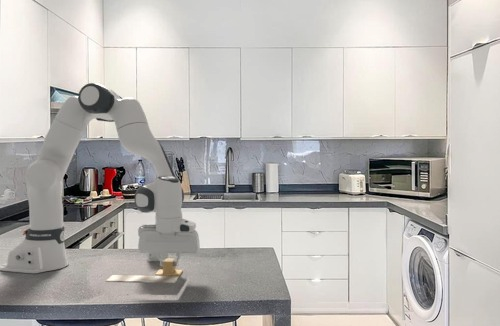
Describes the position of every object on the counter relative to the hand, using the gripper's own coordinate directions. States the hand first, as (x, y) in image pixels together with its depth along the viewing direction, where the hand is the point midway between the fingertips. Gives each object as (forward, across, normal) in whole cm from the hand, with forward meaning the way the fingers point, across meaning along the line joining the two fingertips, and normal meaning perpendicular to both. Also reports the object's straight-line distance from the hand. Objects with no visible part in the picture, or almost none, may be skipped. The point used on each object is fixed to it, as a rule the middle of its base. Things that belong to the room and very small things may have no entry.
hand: (169, 265), depth 155 cm
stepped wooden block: (+3, 0, 0) cm, 3 cm away
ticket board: (+4, -7, -4) cm, 9 cm away
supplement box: (+4, -9, +20) cm, 22 cm away
